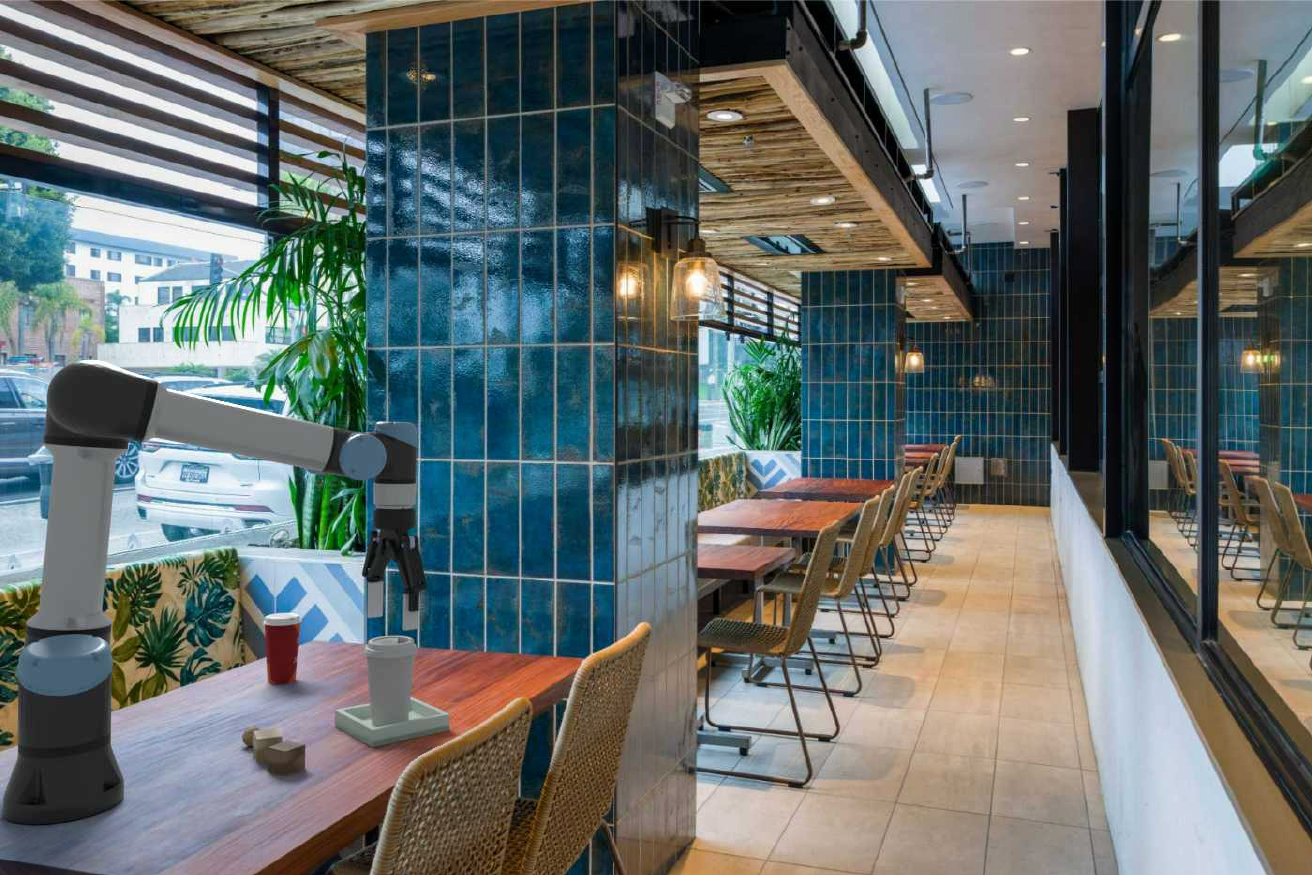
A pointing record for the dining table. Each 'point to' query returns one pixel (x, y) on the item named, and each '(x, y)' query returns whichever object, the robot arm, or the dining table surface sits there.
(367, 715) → the tray
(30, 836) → the dining table surface
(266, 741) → the beech block
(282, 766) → the walnut block
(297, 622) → the paper cup
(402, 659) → the coffee cup
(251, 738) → the cork ball
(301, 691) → the dining table surface
